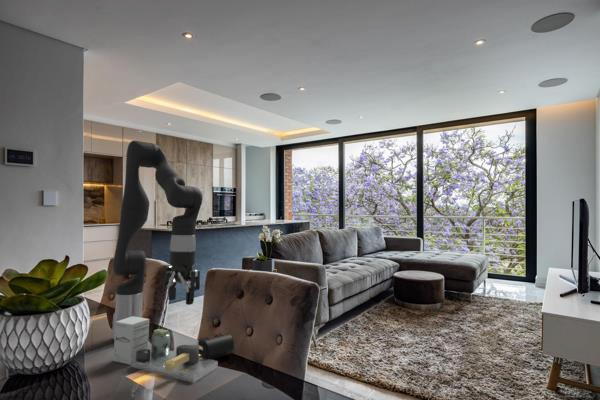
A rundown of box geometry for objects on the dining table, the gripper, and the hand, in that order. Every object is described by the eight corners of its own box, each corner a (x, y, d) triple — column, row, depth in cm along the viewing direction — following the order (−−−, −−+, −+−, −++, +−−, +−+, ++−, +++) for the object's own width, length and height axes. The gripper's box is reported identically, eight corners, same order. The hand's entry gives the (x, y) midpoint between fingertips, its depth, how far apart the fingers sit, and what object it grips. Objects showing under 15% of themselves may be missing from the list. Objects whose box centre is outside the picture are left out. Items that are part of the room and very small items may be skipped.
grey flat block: (131, 366, 104) (132, 336, 104) (161, 353, 115) (162, 325, 115) (193, 383, 94) (194, 349, 95) (219, 366, 105) (220, 336, 106)
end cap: (207, 365, 106) (208, 343, 107) (196, 358, 111) (197, 337, 111) (234, 356, 113) (234, 336, 114) (222, 350, 118) (223, 331, 119)
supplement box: (112, 361, 107) (114, 321, 108) (131, 353, 114) (133, 315, 115) (130, 365, 105) (132, 324, 105) (148, 356, 111) (150, 318, 112)
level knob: (190, 356, 107) (190, 343, 107) (201, 359, 105) (202, 346, 105) (160, 372, 95) (160, 358, 95) (172, 375, 93) (172, 361, 94)
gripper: (158, 248, 106) (155, 300, 105) (187, 251, 98) (185, 308, 97) (178, 247, 112) (176, 296, 111) (207, 250, 104) (205, 303, 103)
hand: (180, 302), depth 104 cm, fingers open, 8 cm apart
